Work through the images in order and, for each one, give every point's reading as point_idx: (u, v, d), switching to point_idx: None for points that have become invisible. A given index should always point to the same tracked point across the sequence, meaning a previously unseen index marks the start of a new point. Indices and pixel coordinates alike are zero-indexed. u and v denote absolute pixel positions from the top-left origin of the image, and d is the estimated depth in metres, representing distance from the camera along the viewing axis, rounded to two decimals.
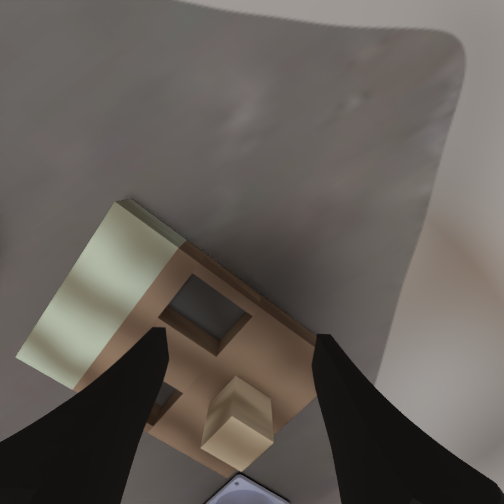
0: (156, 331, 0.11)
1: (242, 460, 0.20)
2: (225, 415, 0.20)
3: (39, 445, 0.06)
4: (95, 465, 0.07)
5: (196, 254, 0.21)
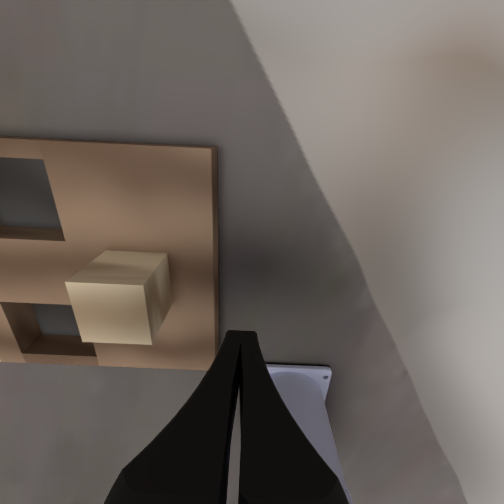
0: (235, 334, 0.11)
1: (137, 330, 0.14)
2: None
3: (186, 451, 0.06)
4: (224, 470, 0.07)
5: None
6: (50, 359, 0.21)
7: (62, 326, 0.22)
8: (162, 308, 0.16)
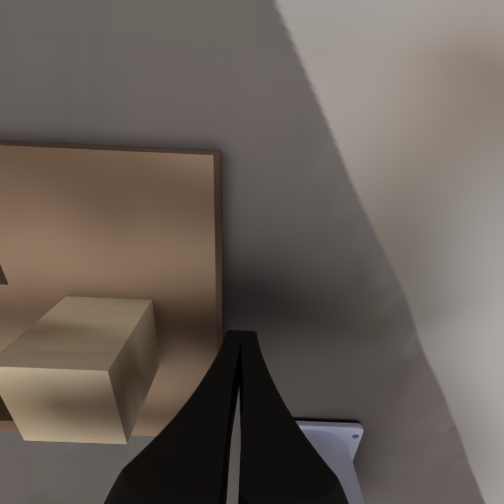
0: (235, 334, 0.11)
1: (104, 427, 0.10)
2: None
3: (186, 451, 0.06)
4: (225, 470, 0.07)
5: None
6: (5, 425, 0.16)
7: None
8: (144, 380, 0.12)
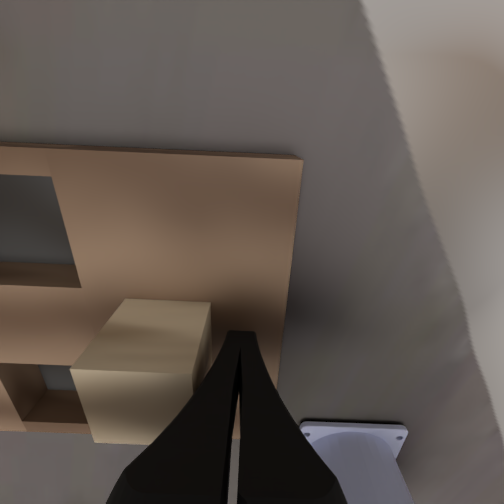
0: (235, 334, 0.11)
1: None
2: None
3: (188, 451, 0.06)
4: (226, 470, 0.07)
5: None
6: (59, 427, 0.16)
7: None
8: None
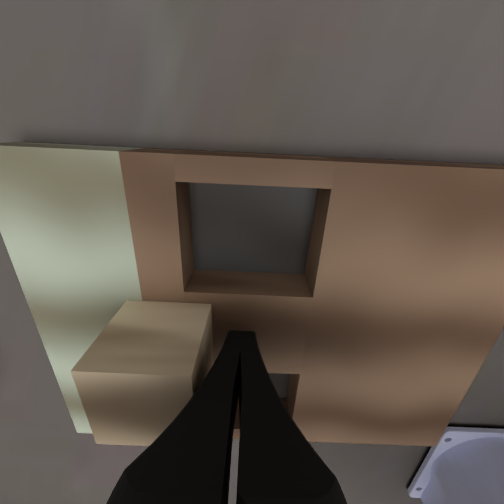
0: (236, 334, 0.11)
1: None
2: None
3: (189, 451, 0.06)
4: (226, 470, 0.07)
5: (165, 151, 0.10)
6: None
7: None
8: None
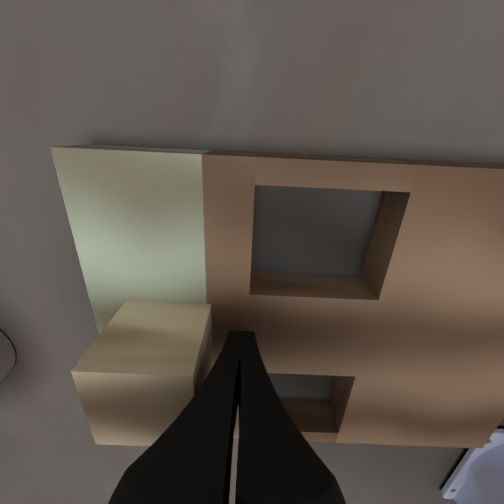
0: (236, 334, 0.11)
1: None
2: None
3: (190, 451, 0.06)
4: (228, 470, 0.07)
5: (240, 154, 0.10)
6: None
7: None
8: None
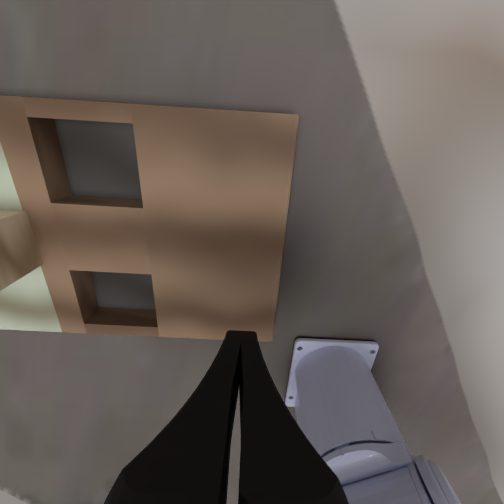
0: (235, 334, 0.11)
1: None
2: None
3: (187, 451, 0.06)
4: (224, 470, 0.07)
5: None
6: (111, 329, 0.21)
7: (120, 299, 0.23)
8: (17, 264, 0.17)
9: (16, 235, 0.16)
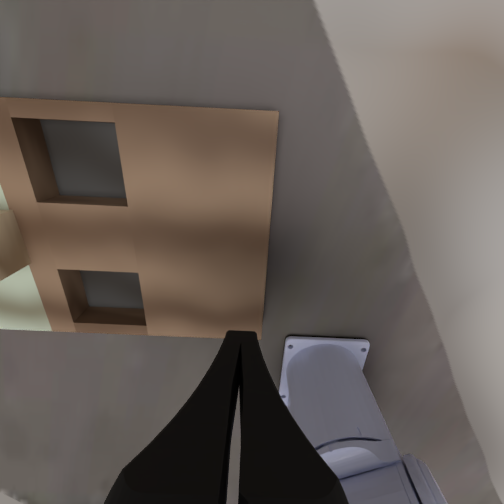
0: (235, 334, 0.11)
1: None
2: None
3: (186, 451, 0.06)
4: (224, 470, 0.07)
5: None
6: (101, 328, 0.21)
7: (109, 298, 0.23)
8: (4, 263, 0.17)
9: (2, 234, 0.17)
